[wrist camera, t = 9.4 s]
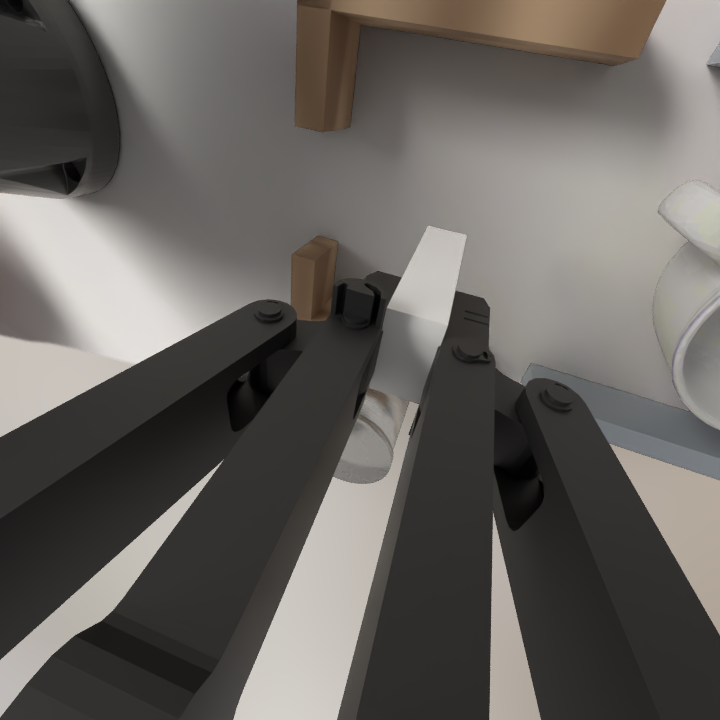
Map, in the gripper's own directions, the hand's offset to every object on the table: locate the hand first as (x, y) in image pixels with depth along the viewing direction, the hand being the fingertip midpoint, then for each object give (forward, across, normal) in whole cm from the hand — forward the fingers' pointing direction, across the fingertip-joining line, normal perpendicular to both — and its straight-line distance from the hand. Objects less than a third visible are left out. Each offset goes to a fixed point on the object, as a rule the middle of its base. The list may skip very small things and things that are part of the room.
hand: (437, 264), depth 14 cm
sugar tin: (+10, -2, -17) cm, 20 cm away
